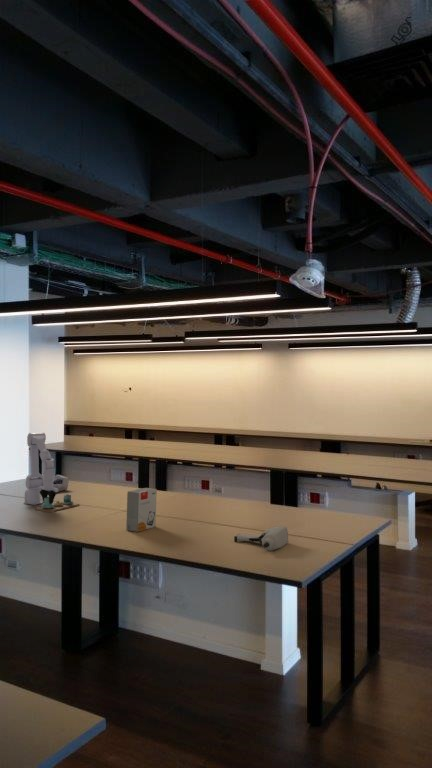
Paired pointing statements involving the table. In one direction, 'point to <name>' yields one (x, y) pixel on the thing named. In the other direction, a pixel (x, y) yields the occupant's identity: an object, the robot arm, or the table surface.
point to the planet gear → (47, 503)
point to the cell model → (60, 482)
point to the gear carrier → (60, 505)
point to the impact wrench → (267, 538)
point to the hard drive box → (141, 509)
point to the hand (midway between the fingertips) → (48, 503)
